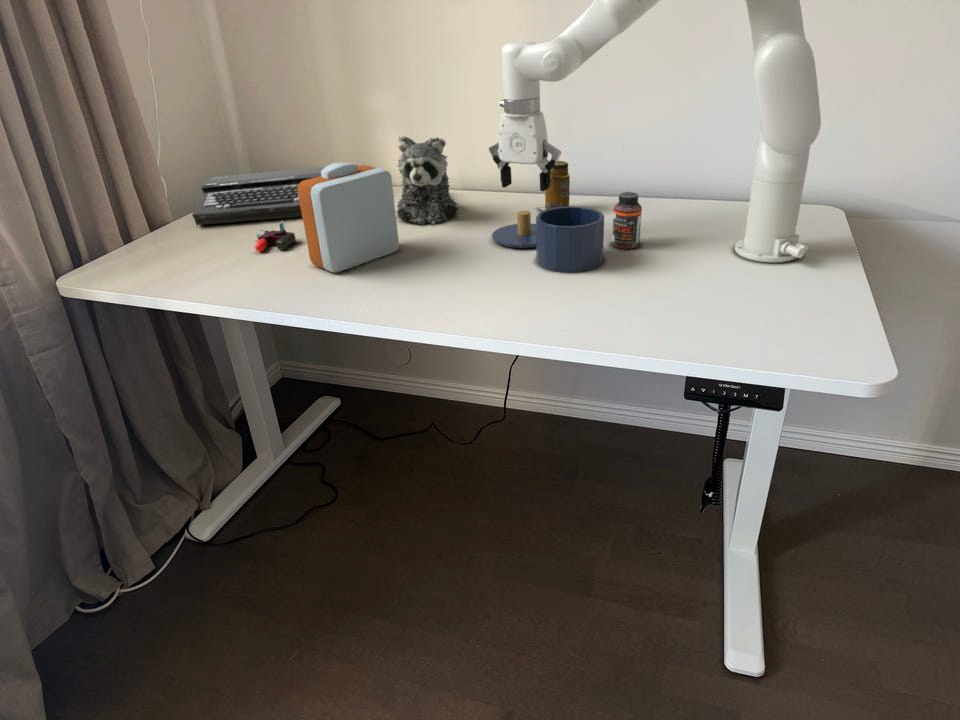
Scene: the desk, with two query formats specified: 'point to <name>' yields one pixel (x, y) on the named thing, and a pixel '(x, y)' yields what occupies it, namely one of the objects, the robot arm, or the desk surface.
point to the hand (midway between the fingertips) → (525, 187)
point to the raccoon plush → (424, 182)
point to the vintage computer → (252, 196)
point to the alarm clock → (348, 215)
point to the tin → (569, 239)
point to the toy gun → (275, 238)
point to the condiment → (558, 187)
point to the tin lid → (517, 232)
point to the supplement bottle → (626, 221)
